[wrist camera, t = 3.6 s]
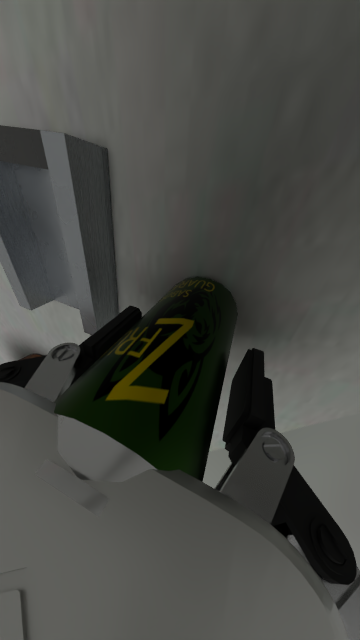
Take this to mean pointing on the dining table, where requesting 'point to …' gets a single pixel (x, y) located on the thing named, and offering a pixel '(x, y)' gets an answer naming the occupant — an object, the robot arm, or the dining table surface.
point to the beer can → (147, 396)
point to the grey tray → (57, 223)
